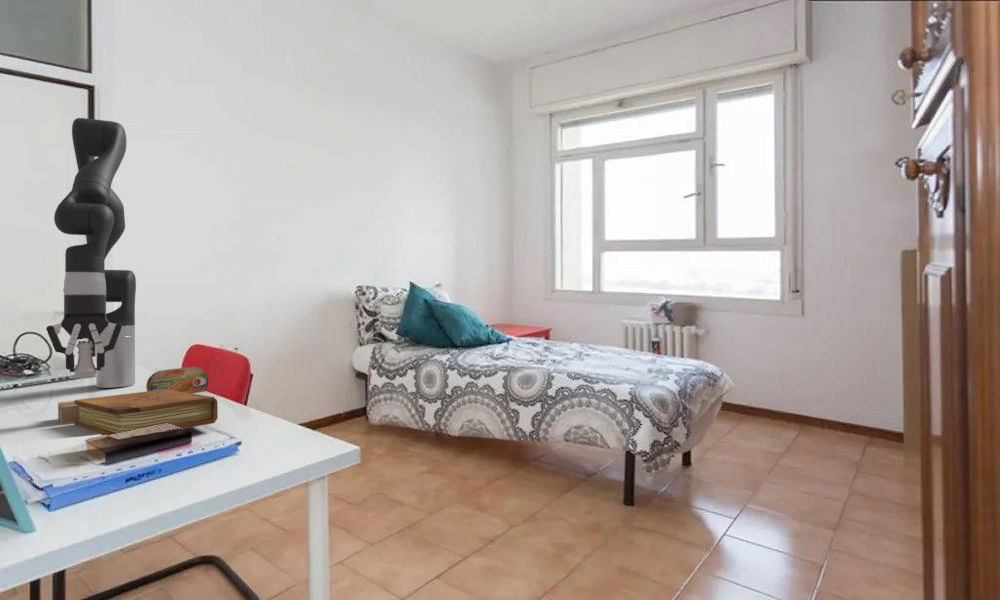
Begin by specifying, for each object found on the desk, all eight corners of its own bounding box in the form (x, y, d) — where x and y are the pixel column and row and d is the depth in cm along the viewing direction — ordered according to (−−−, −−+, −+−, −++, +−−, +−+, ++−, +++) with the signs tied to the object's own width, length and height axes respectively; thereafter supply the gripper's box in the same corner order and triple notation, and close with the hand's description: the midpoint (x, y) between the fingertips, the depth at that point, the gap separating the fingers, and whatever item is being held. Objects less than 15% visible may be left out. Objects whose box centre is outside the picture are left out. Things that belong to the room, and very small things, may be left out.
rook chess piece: (84, 378, 122) (84, 341, 123) (67, 378, 123) (67, 341, 123) (102, 376, 127) (102, 340, 127) (86, 375, 128) (86, 340, 128)
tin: (149, 404, 144) (149, 371, 144) (144, 402, 146) (144, 370, 146) (209, 396, 157) (209, 365, 157) (203, 395, 158) (203, 365, 158)
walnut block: (58, 420, 126) (58, 402, 126) (101, 415, 131) (101, 397, 131) (61, 425, 120) (61, 407, 120) (107, 420, 125) (107, 402, 125)
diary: (217, 423, 121) (217, 396, 121) (118, 441, 106) (118, 410, 106) (168, 412, 135) (168, 387, 135) (74, 426, 120) (74, 398, 120)
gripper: (124, 293, 132) (124, 367, 132) (46, 293, 125) (46, 371, 124) (123, 293, 126) (124, 370, 126) (42, 292, 118) (42, 374, 118)
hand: (85, 370), depth 125 cm, fingers closed on rook chess piece, 4 cm apart
